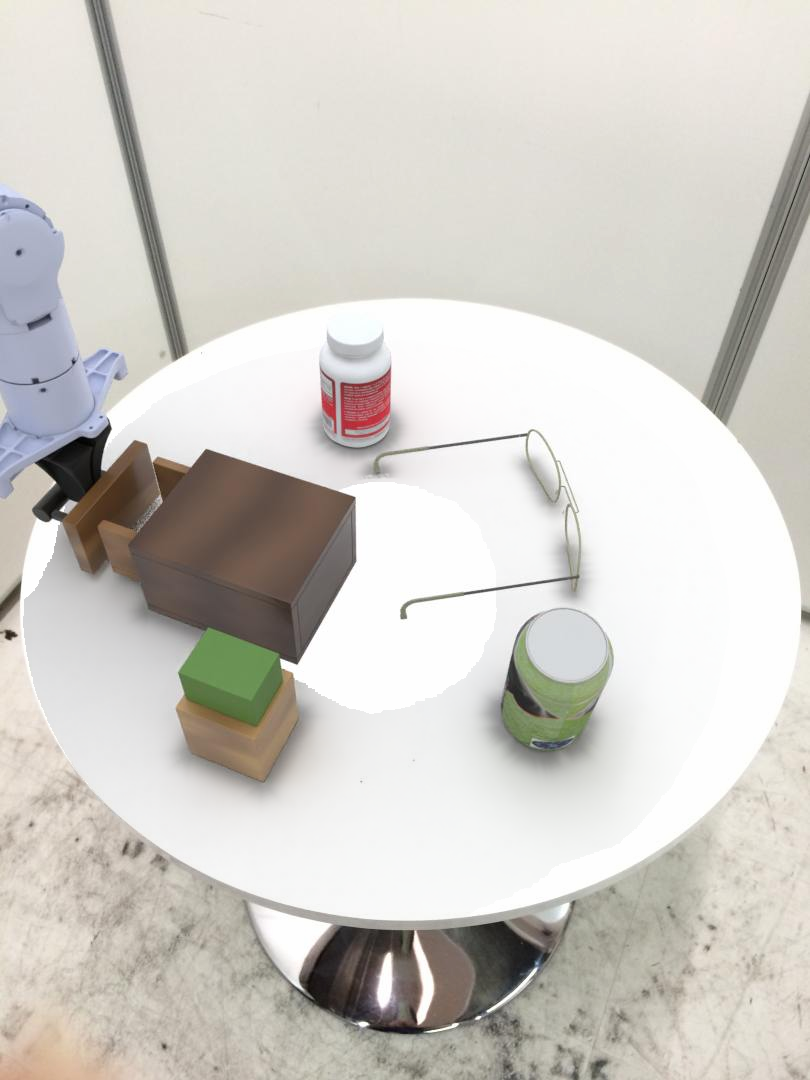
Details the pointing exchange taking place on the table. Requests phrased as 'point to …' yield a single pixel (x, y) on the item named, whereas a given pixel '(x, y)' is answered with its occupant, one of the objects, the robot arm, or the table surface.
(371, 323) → the pill bottle
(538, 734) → the beverage can
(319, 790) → the table surface
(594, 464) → the table surface
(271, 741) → the wooden block
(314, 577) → the cabinet
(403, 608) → the eyeglasses
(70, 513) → the drawer
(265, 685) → the matte green cuboid
